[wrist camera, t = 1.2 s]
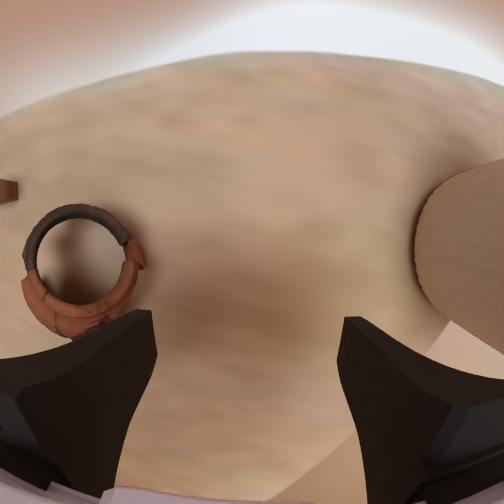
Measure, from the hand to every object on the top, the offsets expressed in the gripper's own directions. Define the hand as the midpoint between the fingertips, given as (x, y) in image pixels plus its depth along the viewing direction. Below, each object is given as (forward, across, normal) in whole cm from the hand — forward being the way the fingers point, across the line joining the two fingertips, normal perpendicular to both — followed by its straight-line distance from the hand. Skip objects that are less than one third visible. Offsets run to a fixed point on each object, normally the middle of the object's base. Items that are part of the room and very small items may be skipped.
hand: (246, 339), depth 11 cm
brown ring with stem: (+11, +12, +3) cm, 17 cm away
